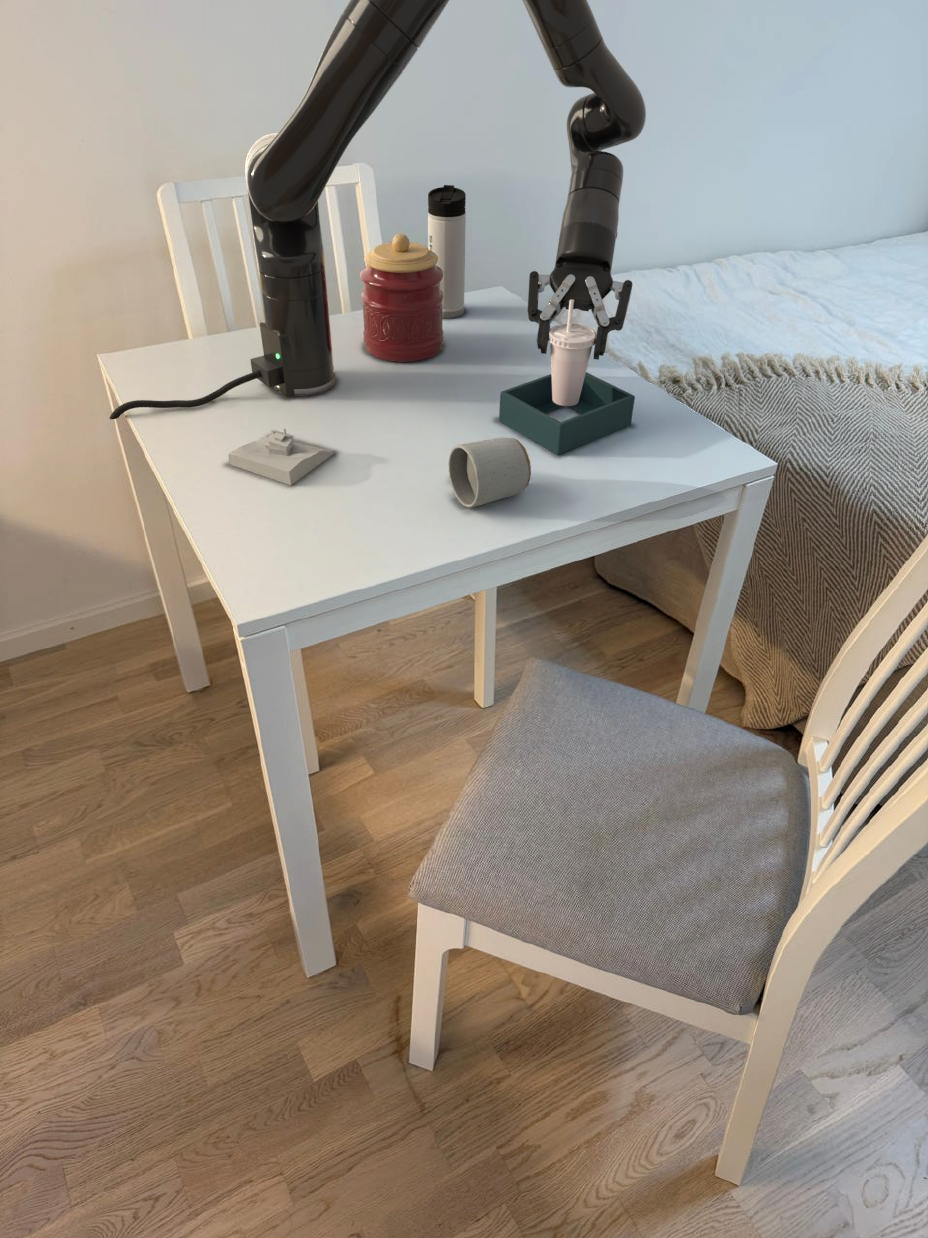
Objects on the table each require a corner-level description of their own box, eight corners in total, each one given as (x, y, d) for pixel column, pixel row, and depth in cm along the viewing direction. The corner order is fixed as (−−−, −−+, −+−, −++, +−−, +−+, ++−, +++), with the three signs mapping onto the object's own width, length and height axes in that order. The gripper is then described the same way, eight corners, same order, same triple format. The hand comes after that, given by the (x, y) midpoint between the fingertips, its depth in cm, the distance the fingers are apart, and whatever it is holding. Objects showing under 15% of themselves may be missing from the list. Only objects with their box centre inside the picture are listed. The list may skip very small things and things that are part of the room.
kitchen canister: (409, 324, 152) (406, 216, 140) (459, 348, 144) (461, 235, 133) (348, 344, 145) (340, 232, 133) (398, 370, 138) (394, 254, 126)
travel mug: (465, 305, 159) (468, 185, 146) (462, 319, 154) (464, 196, 141) (431, 303, 159) (430, 183, 146) (426, 317, 154) (425, 194, 141)
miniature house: (339, 445, 119) (337, 420, 117) (308, 487, 111) (305, 461, 109) (257, 433, 122) (253, 408, 119) (221, 474, 113) (216, 448, 111)
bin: (557, 455, 118) (560, 425, 115) (498, 420, 126) (500, 391, 123) (630, 425, 125) (635, 395, 122) (571, 394, 132) (573, 365, 130)
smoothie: (539, 389, 125) (547, 291, 116) (583, 389, 126) (595, 290, 117) (546, 411, 121) (555, 309, 112) (592, 410, 121) (605, 309, 112)
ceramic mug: (533, 501, 109) (537, 446, 104) (476, 519, 106) (477, 462, 101) (489, 464, 116) (491, 410, 112) (434, 479, 113) (434, 425, 108)
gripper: (533, 214, 116) (514, 337, 115) (644, 224, 114) (625, 349, 113) (536, 244, 123) (518, 359, 122) (640, 253, 121) (622, 370, 120)
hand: (569, 354), depth 117 cm, fingers closed on smoothie, 6 cm apart
